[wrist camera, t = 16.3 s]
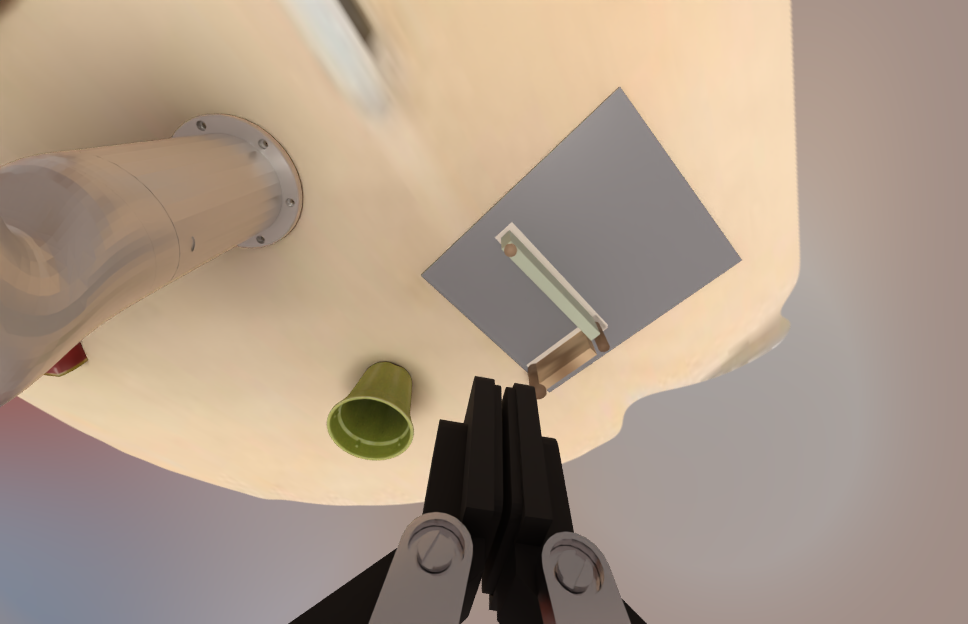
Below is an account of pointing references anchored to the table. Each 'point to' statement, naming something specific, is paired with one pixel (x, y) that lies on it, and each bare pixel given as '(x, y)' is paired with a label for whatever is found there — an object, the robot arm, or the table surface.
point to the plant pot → (375, 414)
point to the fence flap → (548, 284)
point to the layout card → (587, 241)
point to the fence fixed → (564, 361)
